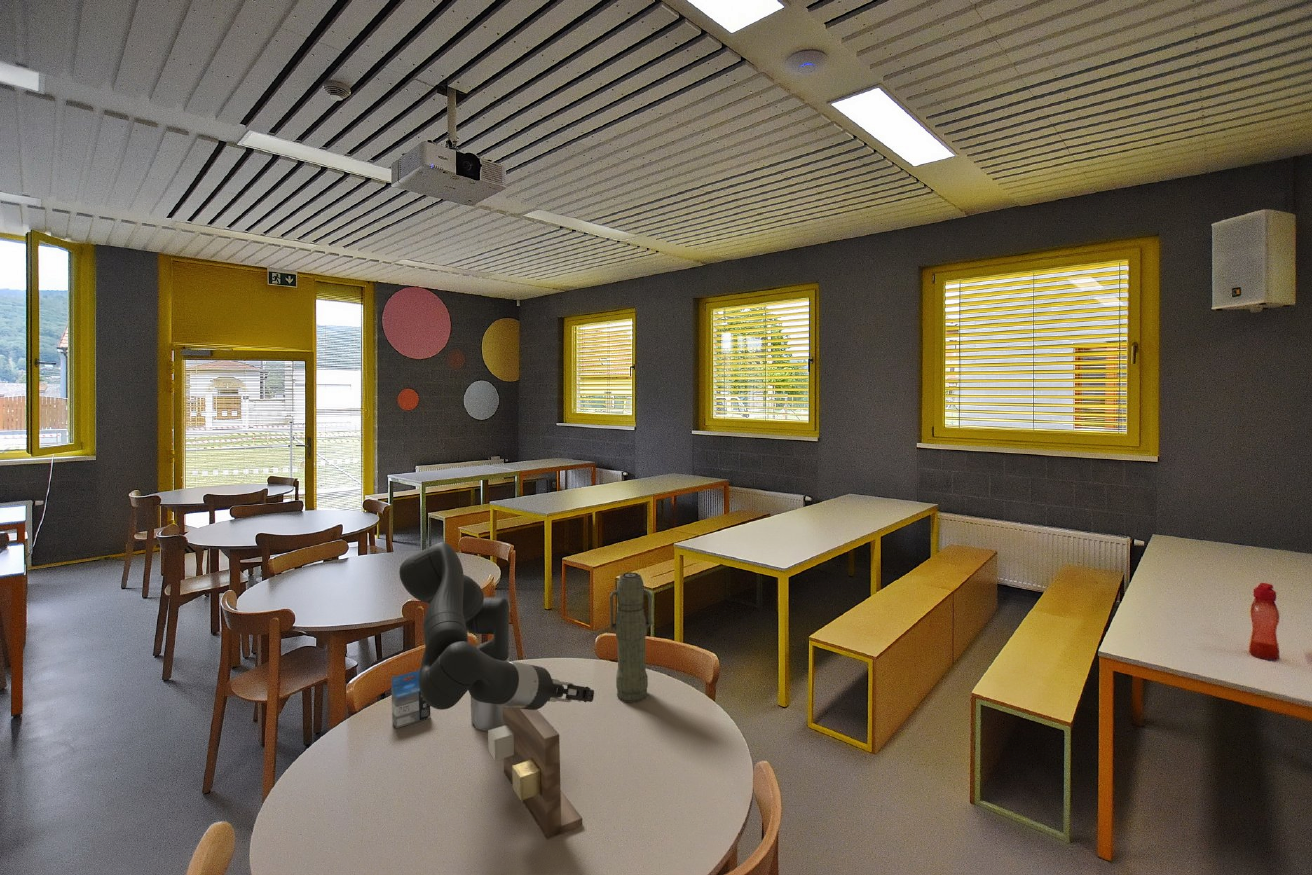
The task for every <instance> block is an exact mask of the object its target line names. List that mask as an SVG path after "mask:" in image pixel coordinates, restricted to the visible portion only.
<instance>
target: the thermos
mask: <svg viewBox="0 0 1312 875" xmlns="http://www.w3.org/2000/svg"><path fill="white" fill-rule="evenodd" d="M645 595H646V596H647V607H648V608H647V611H648V612H647V614H646V610H645V605H644V602H645ZM614 596H616V597H617V612H616V614H615V621H614ZM652 598H653V595H652V593H651V592H650V591H649V590H647V589H645V585H644V581H643V578H642V575H641V574H639V573H637V572H633V571H632V572H624V573H622V574H621V575H619V578H618V581H617V585H616V589H615V590H612V592H611V593H610V594H609V618H610V620H609V622H610V628H611V629H612V628H613V629H614V630H615V637H616V638H617V671H616V677H615V679H616V680H615V682H616V683H615V684H616V685H615V686H616V689H617V692H616V697H618V698H617V699H618V700H619V699H620V700H619V701H621V702H624V701H625V702H624V703H629V704H630V703H631V704H632V703H638V701H639V702H642V701H644V700H645V699H646V698H647V697H648V687H649V686H648V685H649V682H648V680H649V678H648V673H647V670H646V666H647V665H646V660H647V659H646V637H647V634H648V630H647V629H648V628H650V627H651V626H652V625H653V620H652V609H653V605H652V604H653V599H652ZM647 616H648V617H647ZM647 618H648V620H647ZM643 699H644V700H643Z"/></svg>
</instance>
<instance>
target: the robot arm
mask: <svg viewBox="0 0 1312 875" xmlns="http://www.w3.org/2000/svg"><path fill="white" fill-rule="evenodd" d="M399 579H400V581H401V584H402V585H403V587H404V589H405V590H406V591H407V593H409V595H411V596H412V597H413V598H414V599H416V600H417V601H420V602H422V603H424V604H428V607H427V610H426V611H425V614H424V617H423V622H422V633H423V639H424V641H423V642H424V647H425V648H424V651H423V654H422V658H421V663H420V668H419V670H420V673H419V689H420V692H421V695H422V697H423V699H424V700H425V702H426V703H427V704H428V705H430V708H432V709H436V710H439V711H440V710H441V711H442V710H443V711H444V710H448V709H450V708H452V707H454V706H455V705H456V704H457V703H458V702H460V700H461V699H463V697H464V696H465V694H466V693H467V692H468V693H469V696H470V716H471V718H470V719H471V720H470V721H471V724H473V725H474V728H475V729H477V730H480V731H483V732H488V730H491V729H495V728H498V727H502V706H505V707H511V708H519V709H527V710H539V709H541V708H543V707H544V706H545V705H546V703H548V702H551V703H556V702H562V703H563V702H564V703H571V702H572V701H578V703H581V702H584V703H588V702H589V703H592V702H593V701H594V696H595V690H594V689H591V687H589V686H582V685H576V684H574V683H573V682H569V681H568V682H567V681H560V680H559V679H555V678H552V676H551V674H550V672H549V671H548V670H547V669H546V668H545V667H542V666H538V665H535V664H528V663H525V662H518V661H510V656H509V655H510V654H509V653H510V651H509V648H510V604H509V601H508V600H507V598H506V597H501V596H500V597H499V596H497V597H493V596H491V597H485V596H484V595H485V594H484V592H483V590H482V587H481V586H480V585H479V584H478V583H477V582H476V581H475V580H474V579H472V578H471V577H470V576H468V575H466V574H464V569H463V565H462V562H461V559H460V557H459V555H458V554H457V553H456V551H455V550H454V548H453V547H452V546H451V545H450V544H449V543H447V542H445V541H441V542H438V543H434V544H433V545H430V546H428V547H426V548H425V549H423V550H420V551H418V552H417V553H415V554H414V555H411V556H409V557H408V558H406V559H405V560H404V561H403V562H402V563H401V564H400V568H399ZM468 633H470V634H474V635H493V638H492V639H490V640H488V641H485V642H482V643H481V644H477V645H476V646H475V645H474V644H472V643H471V642H469V636H468ZM564 686H566V688H565V687H564ZM564 695H565V698H562V697H563V696H564Z"/></svg>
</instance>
